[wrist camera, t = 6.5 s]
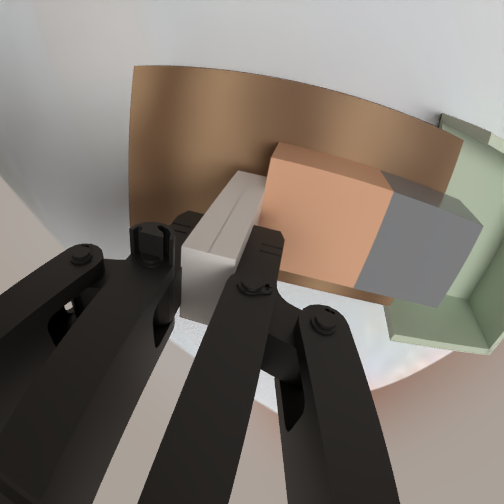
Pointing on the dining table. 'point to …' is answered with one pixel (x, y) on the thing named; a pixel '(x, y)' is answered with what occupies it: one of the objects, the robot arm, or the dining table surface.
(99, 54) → the dining table surface
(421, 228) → the grey square block
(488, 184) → the tray
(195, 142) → the walnut board
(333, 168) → the peach square block
